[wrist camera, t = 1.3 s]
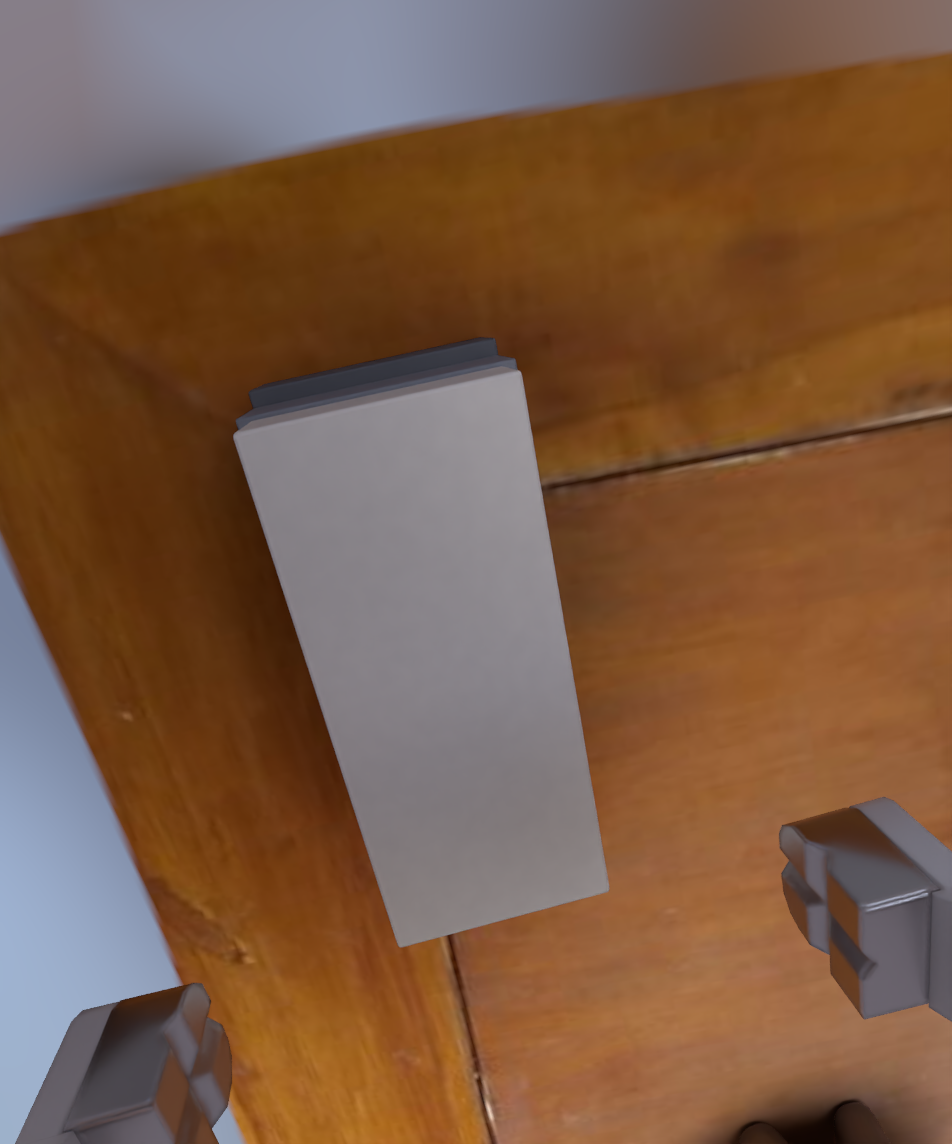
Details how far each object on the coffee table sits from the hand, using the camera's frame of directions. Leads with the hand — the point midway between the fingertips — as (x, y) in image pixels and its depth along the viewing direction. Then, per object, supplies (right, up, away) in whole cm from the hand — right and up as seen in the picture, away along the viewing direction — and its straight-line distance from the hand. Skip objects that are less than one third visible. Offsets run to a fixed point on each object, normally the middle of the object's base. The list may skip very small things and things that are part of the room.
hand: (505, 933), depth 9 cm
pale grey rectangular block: (-1, +3, +7) cm, 8 cm away
